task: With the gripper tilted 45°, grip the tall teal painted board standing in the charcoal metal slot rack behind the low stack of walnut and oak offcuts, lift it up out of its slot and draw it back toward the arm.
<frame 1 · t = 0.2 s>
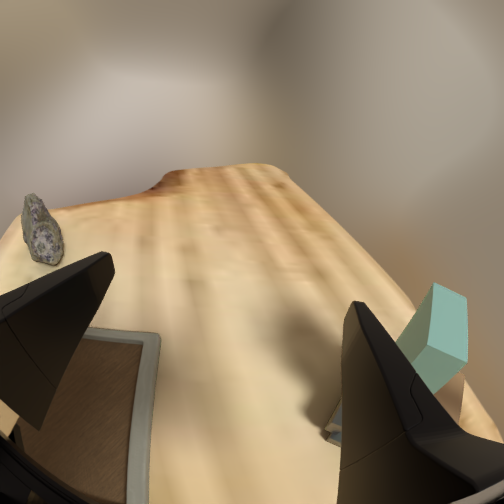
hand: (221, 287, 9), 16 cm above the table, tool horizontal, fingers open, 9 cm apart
rack: (370, 407, 20), on the table
clipboard: (25, 397, 17), on the table
tall sheet: (375, 403, 20), point 1 cm above the table, touching rack
offcut top: (438, 409, 16), point 3 cm above the table, touching offcut middle
mineral rock: (44, 254, 35), on the table
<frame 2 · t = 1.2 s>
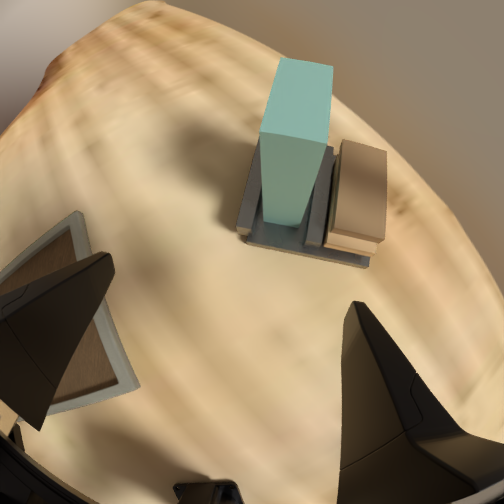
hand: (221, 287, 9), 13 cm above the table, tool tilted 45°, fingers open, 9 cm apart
rack: (286, 197, 24), on the table
clipboard: (26, 339, 23), on the table
tall sheet: (287, 192, 23), point 1 cm above the table, touching rack
offcut top: (359, 191, 20), point 3 cm above the table, touching offcut middle
offcut middle: (352, 206, 21), point 2 cm above the table, touching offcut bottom, offcut top
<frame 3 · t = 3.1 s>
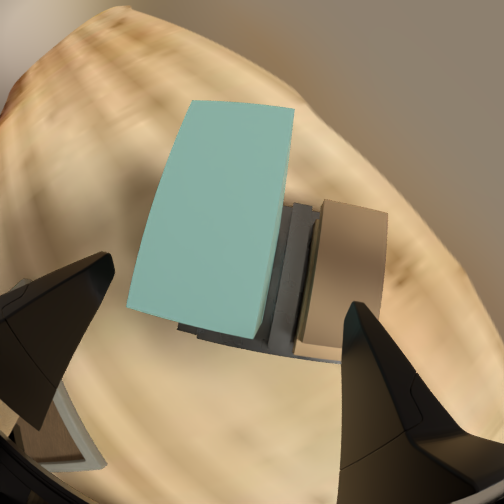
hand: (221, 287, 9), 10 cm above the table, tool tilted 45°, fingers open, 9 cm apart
rack: (249, 274, 19), on the table
clipboard: (2, 399, 18), on the table
tall sheet: (248, 272, 18), point 1 cm above the table, touching rack
offcut top: (345, 277, 15), point 3 cm above the table, touching offcut middle
offcut middle: (335, 292, 16), point 2 cm above the table, touching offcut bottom, offcut top
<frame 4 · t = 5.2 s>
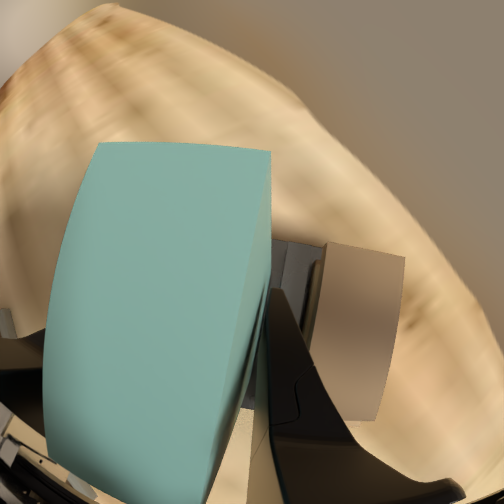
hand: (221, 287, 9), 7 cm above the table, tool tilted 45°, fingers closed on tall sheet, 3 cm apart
rack: (236, 320, 16), on the table
tall sheet: (234, 321, 15), point 1 cm above the table, touching gripper, rack
offcut top: (348, 335, 12), point 3 cm above the table, touching offcut middle
offcut middle: (336, 348, 13), point 2 cm above the table, touching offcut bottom, offcut top
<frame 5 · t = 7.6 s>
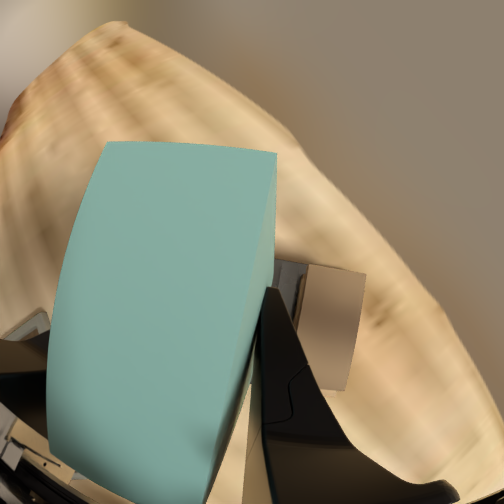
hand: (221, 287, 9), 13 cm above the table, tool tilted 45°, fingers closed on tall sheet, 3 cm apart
rack: (244, 318, 21), on the table
clipboard: (21, 414, 20), on the table
tall sheet: (236, 322, 15), point 7 cm above the table, touching gripper
offcut top: (324, 328, 18), point 3 cm above the table, touching offcut middle
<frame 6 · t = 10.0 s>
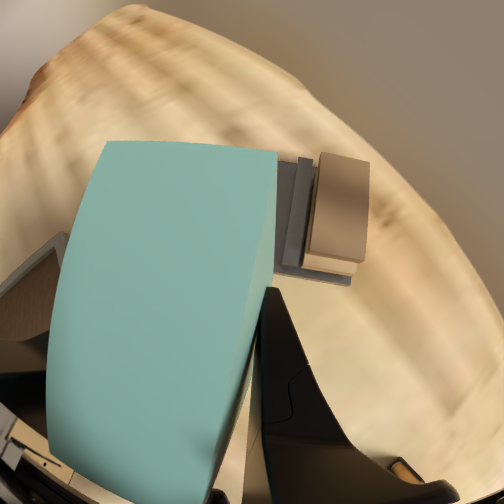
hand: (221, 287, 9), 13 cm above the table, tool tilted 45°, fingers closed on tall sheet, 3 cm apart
rack: (264, 214, 24), on the table
clipboard: (23, 356, 23), on the table
tall sheet: (235, 322, 15), point 7 cm above the table, touching gripper
offcut top: (339, 208, 20), point 3 cm above the table, touching offcut middle
ammunition clip: (408, 482, 17), on the table
offcut middle: (333, 222, 21), point 2 cm above the table, touching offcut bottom, offcut top
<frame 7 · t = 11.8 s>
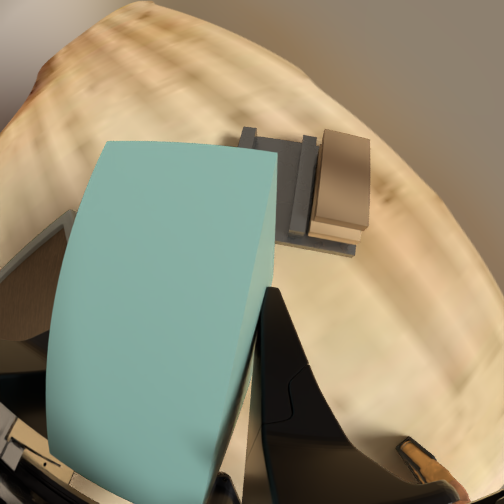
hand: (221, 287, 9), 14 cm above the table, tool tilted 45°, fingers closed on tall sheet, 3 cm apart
rack: (271, 189, 24), on the table
clipboard: (25, 338, 23), on the table
tall sheet: (235, 322, 15), point 7 cm above the table, touching gripper
offcut top: (342, 180, 21), point 3 cm above the table, touching offcut middle
ammunition clip: (417, 465, 18), on the table
offcut middle: (336, 195, 22), point 2 cm above the table, touching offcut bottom, offcut top
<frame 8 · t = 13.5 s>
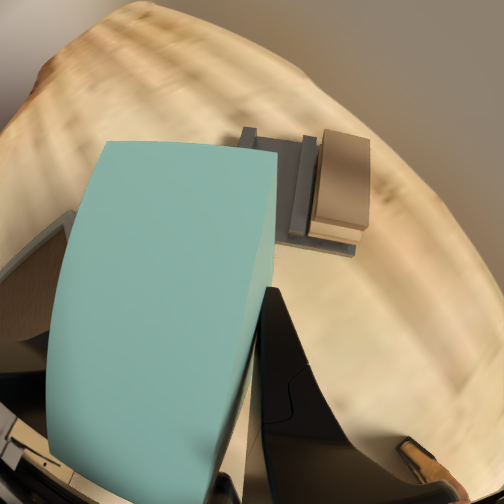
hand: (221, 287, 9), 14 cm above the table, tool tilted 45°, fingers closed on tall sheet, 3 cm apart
rack: (271, 189, 24), on the table
clipboard: (25, 338, 23), on the table
tall sheet: (235, 322, 15), point 7 cm above the table, touching gripper
offcut top: (342, 180, 21), point 3 cm above the table, touching offcut middle
ammunition clip: (417, 465, 18), on the table
offcut middle: (336, 195, 22), point 2 cm above the table, touching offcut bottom, offcut top
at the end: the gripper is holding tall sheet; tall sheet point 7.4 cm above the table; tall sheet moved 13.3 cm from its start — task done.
